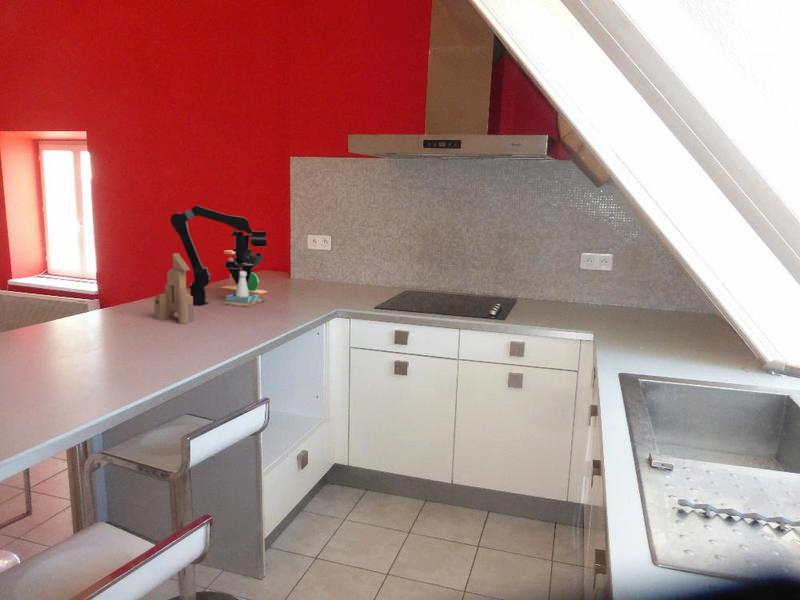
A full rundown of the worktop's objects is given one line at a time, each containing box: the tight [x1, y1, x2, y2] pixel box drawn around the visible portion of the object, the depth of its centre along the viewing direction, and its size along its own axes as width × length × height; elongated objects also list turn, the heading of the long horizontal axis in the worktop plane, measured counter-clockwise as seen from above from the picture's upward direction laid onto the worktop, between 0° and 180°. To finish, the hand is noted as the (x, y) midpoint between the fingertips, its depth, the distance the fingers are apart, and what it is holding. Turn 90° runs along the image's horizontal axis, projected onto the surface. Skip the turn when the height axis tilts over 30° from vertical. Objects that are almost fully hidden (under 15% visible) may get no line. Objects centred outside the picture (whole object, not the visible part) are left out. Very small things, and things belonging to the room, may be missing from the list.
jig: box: [222, 292, 269, 307], centre depth 255 cm, size 18×12×4 cm, turn 166°
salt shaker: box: [235, 270, 249, 297], centre depth 251 cm, size 6×6×13 cm
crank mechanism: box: [221, 249, 268, 294], centre depth 280 cm, size 25×7×19 cm, turn 62°
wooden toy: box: [153, 252, 194, 325], centre depth 215 cm, size 15×7×25 cm, turn 63°
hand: (242, 282), depth 251 cm, fingers open, 8 cm apart
